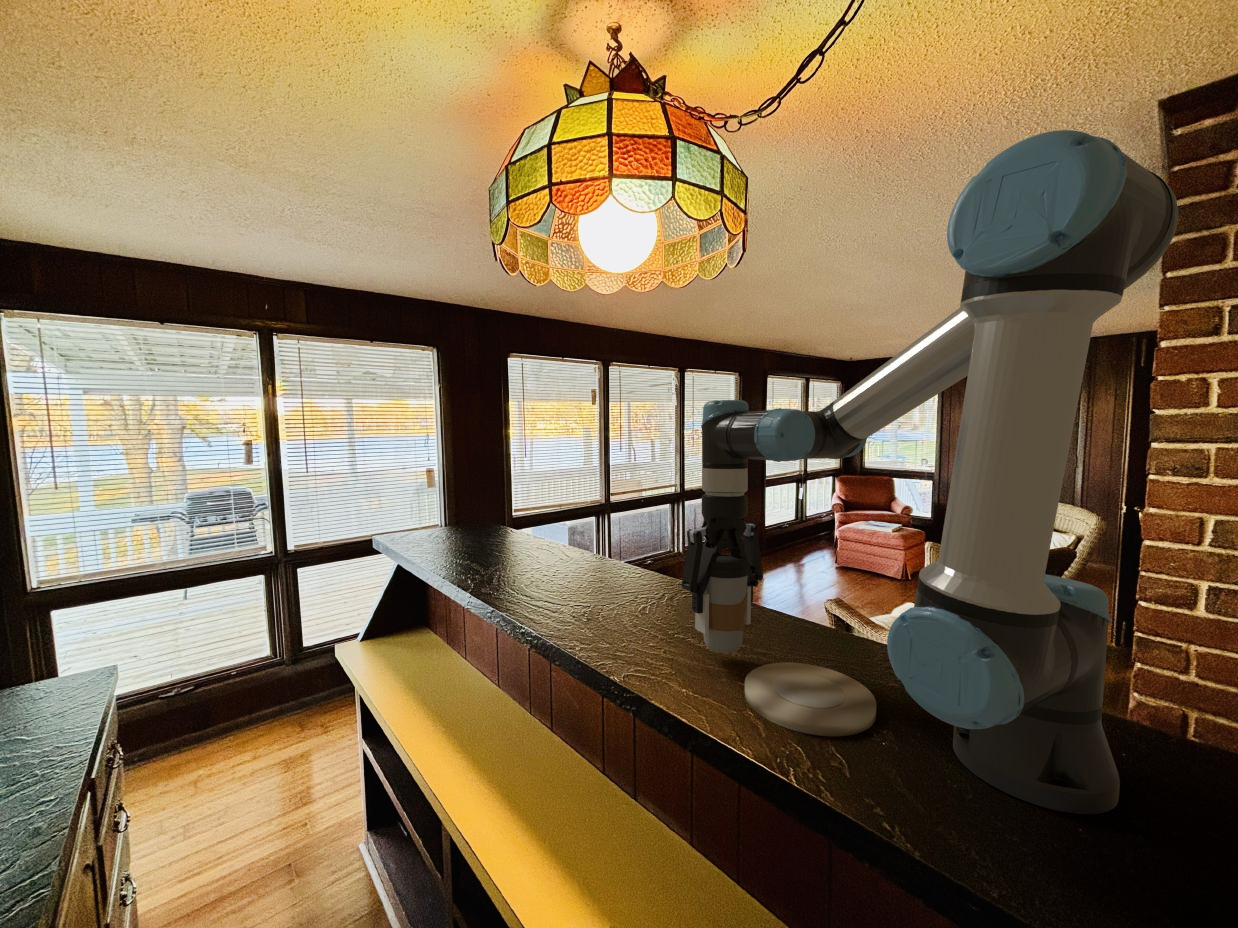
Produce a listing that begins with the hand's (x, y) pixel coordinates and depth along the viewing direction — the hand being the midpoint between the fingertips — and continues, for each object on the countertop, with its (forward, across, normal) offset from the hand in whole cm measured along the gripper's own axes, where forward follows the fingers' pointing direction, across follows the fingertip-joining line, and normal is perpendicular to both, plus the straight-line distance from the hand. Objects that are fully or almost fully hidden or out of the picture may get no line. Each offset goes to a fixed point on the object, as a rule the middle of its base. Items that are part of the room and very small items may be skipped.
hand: (723, 626), depth 88 cm
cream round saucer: (+7, -3, +16) cm, 17 cm away
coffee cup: (+4, 0, 0) cm, 4 cm away
